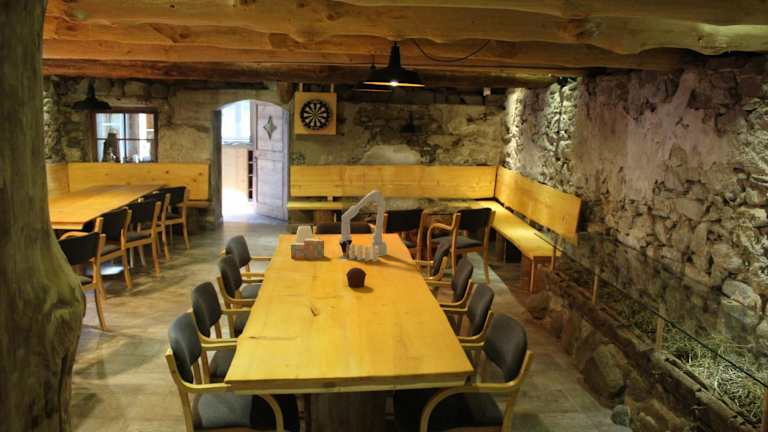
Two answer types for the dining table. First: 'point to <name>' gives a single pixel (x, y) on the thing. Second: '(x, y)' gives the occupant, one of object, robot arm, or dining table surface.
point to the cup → (303, 234)
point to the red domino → (346, 250)
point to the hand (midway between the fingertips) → (345, 251)
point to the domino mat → (355, 259)
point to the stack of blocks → (308, 249)
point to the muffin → (356, 278)
